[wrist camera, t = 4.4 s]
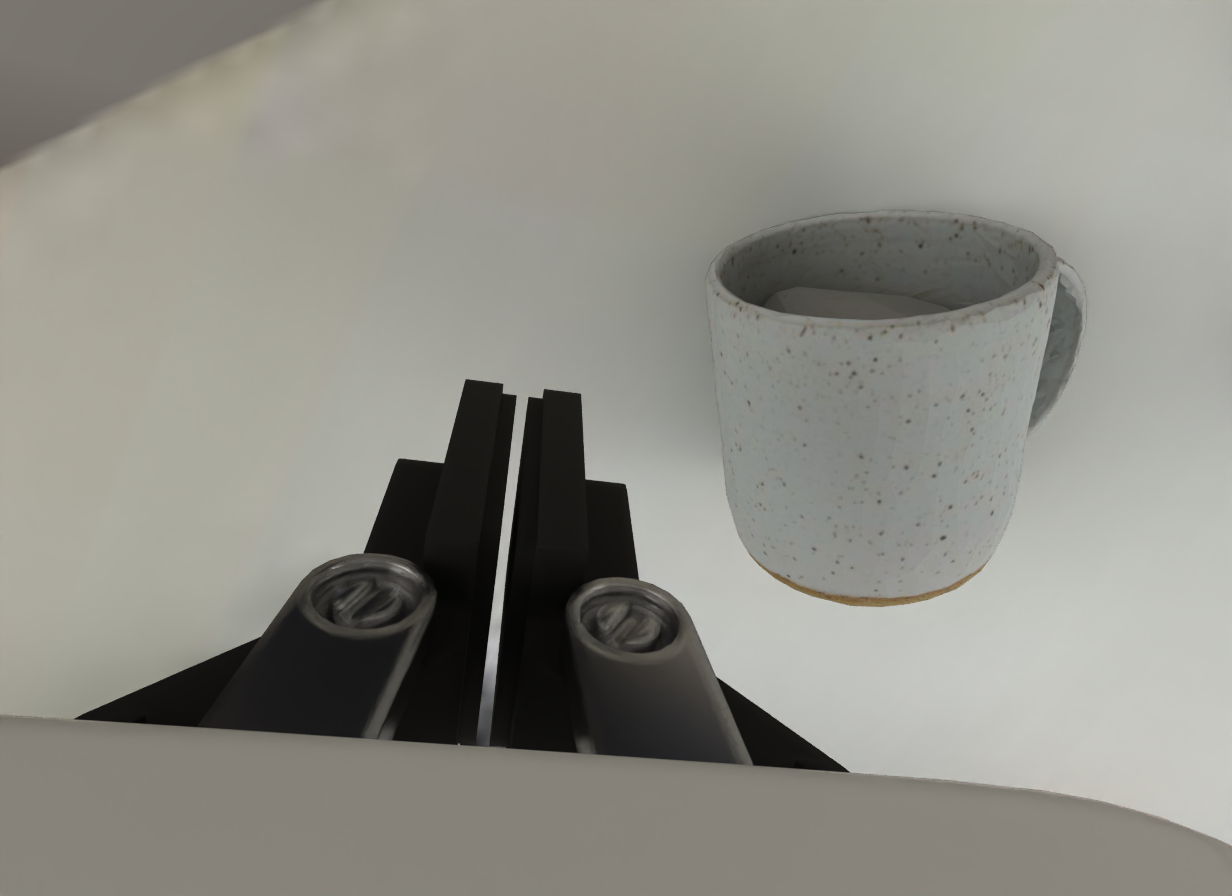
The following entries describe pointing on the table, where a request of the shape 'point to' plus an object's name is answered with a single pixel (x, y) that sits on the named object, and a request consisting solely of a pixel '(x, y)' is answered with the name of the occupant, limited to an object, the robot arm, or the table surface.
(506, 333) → the table surface
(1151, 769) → the table surface
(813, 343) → the ceramic mug
